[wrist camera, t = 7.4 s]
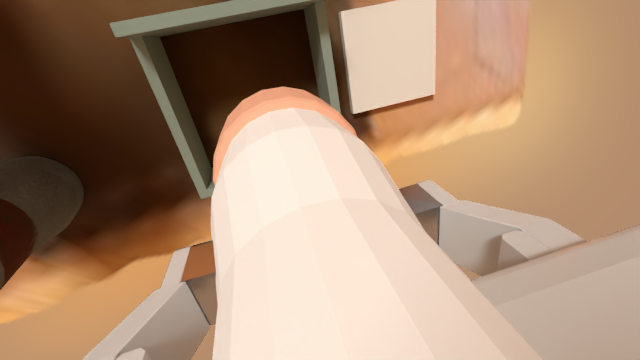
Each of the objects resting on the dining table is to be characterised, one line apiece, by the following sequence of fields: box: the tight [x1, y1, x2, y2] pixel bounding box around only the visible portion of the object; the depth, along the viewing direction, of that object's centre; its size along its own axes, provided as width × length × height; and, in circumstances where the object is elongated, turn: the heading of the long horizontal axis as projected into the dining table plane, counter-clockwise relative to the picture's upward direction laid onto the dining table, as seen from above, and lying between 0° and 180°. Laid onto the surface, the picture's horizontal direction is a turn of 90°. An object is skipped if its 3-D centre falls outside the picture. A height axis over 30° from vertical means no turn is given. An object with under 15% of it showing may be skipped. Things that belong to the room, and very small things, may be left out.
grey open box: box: [109, 0, 341, 199], centre depth 31 cm, size 18×18×9 cm
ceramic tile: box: [338, 0, 436, 114], centre depth 36 cm, size 12×12×1 cm
